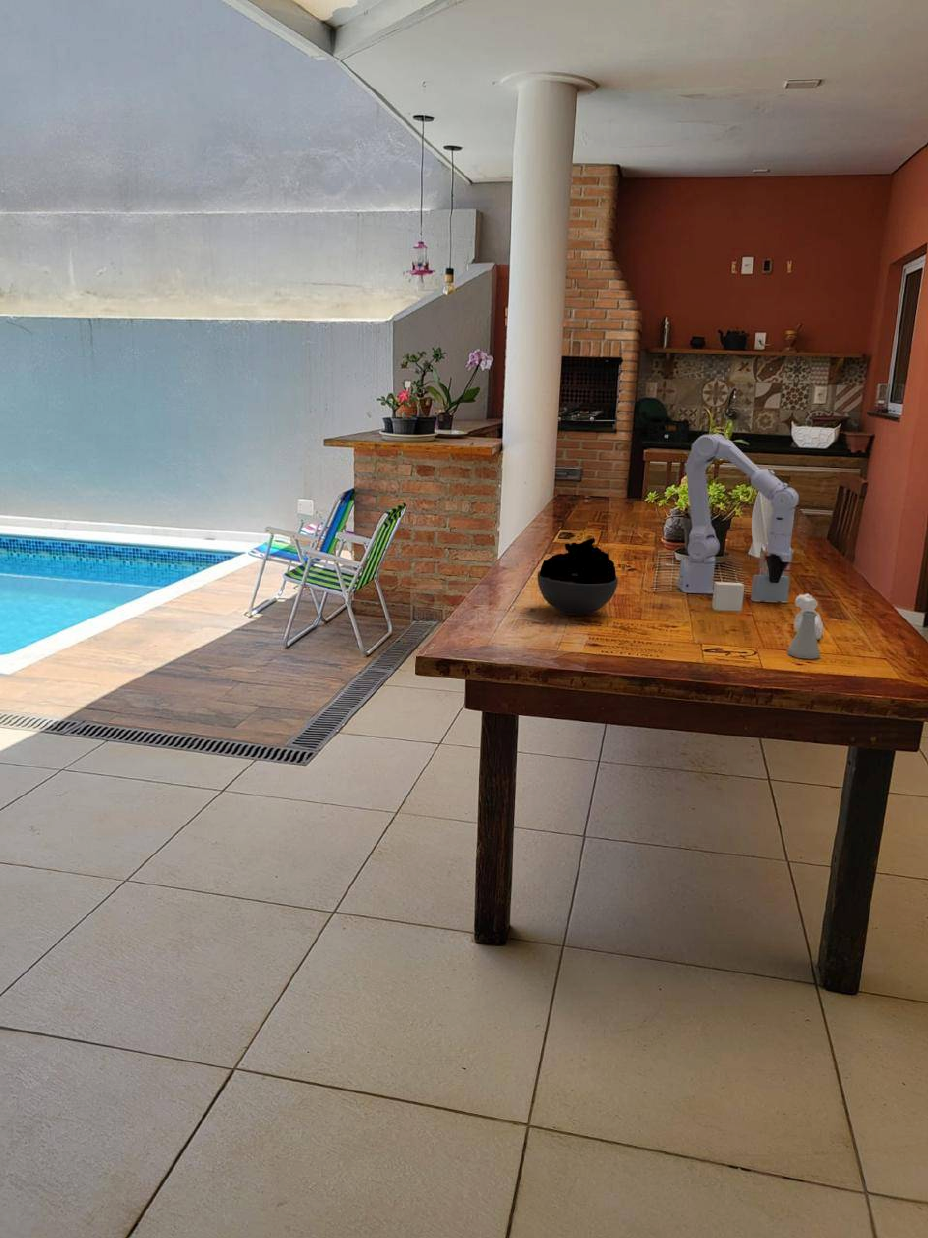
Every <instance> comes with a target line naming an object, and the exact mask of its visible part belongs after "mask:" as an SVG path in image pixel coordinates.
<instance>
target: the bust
mask: <svg viewBox="0 0 928 1238" xmlns="http://www.w3.org/2000/svg"><path fill="white" fill-rule="evenodd" d="M794 605H795V607H797V608H801V610H800V611H799V612H798V613H797V614H796V615H795V619H794V621H793V622H794V623H793V626H794V629H795V631H796V632H797V631H798V629H799V628H800V625H801V622H802V618H803V614H802V611H813V612H816V613H817V616H816V617H815V634H816V639H817V640H820V639H822V636H823V633H824V631H825V629H824V624H823V621H822V618H821V615H820V614H819V612H817V611H816V608H817V607H818V606H819V604H818V601H817V600H816V599H815V598H814V597H813V596H812V595H811V594H809V593H805V594H801V593H800V594H799V595H797V596H796V599H795V601H794Z"/></svg>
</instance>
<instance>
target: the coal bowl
mask: <svg viewBox="0 0 928 1238" xmlns="http://www.w3.org/2000/svg"><path fill="white" fill-rule="evenodd" d="M595 542H596V539H595V538H594V537H591V538H588V539H586V540H584V541H581V542H579V543H577V542H571V544H570V543H565V544H564V549H565V550H566V551H567V552H566V553H558V554H555V555H551V557H550V558H548V559H547V560H546V559H544V560H543V562H542V564H541V567H540V570H539V571H538V573H537V585H538V588H539V591H540V593H541V595H542V598H544V600H545V601H546V602H547V604H549V605H550V606H551V607H552V608H553V609H554V610H556V611H558V612H560V613H562V614H564V615H568V616H573V617H574V616H575V617H581V616H587V615H591V614H594V613H595V612H598V611H599V610H601V609H602V608H604V606H606V605H607V604H608V603H609V602H610V600H611V599H612V597H613V596H614V594H615V591H616V589H617V586H618V582H619V578H618V577H617V576H616V575H617V574H616V568H615V562H614V561H613V560H612V559H610V555H609V553H606V552H604V551H602V549H600V548H599V547H598V546H596V547H595V546H594V545H593V544H595Z"/></svg>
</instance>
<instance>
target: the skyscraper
mask: <svg viewBox="0 0 928 1238" xmlns="http://www.w3.org/2000/svg"><path fill="white" fill-rule="evenodd" d="M772 513H773V507H772V505H771V500H768V499H767V498H766V497H765V496H763V495H762V494H761V493H760V492H759V491H758V490H757V495H756V497H755V501H754V505H753V509H752V518H751V532H752V543H751V546H750V549H749V550H748V553H747V555H748V554H749V555H748V556H750V555H751V556H750V557H752V556H753V558H755V557H756V559H758V560H760V552H761V547H766V542H768V541H769V533H770V526H771V518H772Z"/></svg>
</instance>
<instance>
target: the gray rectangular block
mask: <svg viewBox="0 0 928 1238" xmlns="http://www.w3.org/2000/svg"><path fill="white" fill-rule="evenodd" d="M789 586H790V576H789V577H787V576H781V578H780V581H779V583H771V582H770V580H769V575H758V574H753V580H752V586H751V587H752V589H751V597H750V600H751V601H753V602H762V603H765V602H766V603H786V604H787V603H788V597H789Z"/></svg>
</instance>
